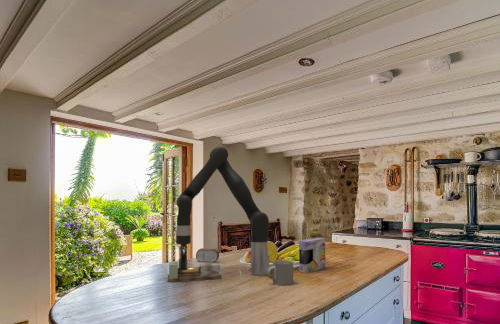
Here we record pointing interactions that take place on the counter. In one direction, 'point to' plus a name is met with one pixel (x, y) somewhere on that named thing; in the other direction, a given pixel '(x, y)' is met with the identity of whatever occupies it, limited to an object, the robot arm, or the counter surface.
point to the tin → (207, 255)
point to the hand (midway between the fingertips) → (182, 268)
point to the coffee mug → (281, 272)
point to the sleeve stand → (200, 274)
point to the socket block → (173, 270)
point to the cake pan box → (311, 255)
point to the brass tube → (188, 269)
